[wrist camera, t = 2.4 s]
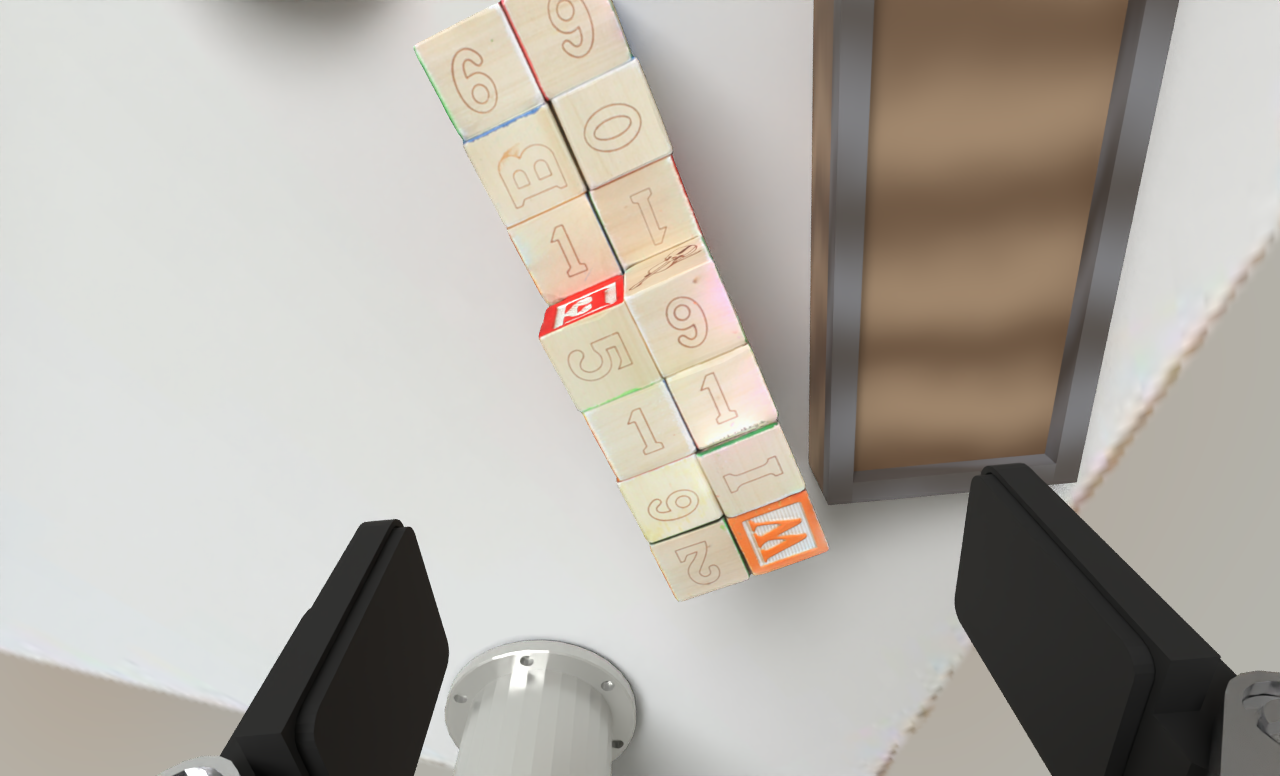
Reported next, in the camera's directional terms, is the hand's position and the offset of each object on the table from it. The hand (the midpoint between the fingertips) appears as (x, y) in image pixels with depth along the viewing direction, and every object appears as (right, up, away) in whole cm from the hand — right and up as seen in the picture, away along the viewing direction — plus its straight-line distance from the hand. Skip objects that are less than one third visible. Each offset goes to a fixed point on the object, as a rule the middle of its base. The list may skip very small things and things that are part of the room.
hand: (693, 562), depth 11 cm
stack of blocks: (-1, +10, +21) cm, 23 cm away
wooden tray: (+13, +12, +20) cm, 27 cm away
